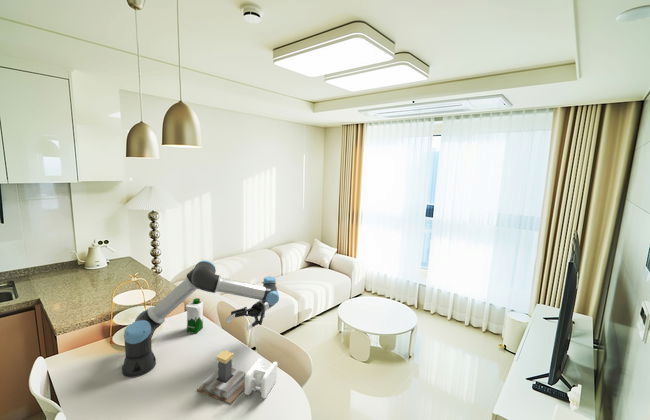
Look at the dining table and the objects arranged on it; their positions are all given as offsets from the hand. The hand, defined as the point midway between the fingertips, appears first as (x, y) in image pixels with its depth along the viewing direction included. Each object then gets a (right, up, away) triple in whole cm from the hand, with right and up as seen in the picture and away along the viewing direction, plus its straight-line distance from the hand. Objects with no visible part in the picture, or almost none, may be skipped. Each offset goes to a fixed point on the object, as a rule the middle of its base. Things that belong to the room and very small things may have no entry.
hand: (236, 324), depth 156 cm
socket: (-3, -26, -11) cm, 28 cm away
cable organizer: (+15, -28, -11) cm, 33 cm away
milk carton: (-38, -18, +36) cm, 55 cm away
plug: (-3, -25, -11) cm, 28 cm away
